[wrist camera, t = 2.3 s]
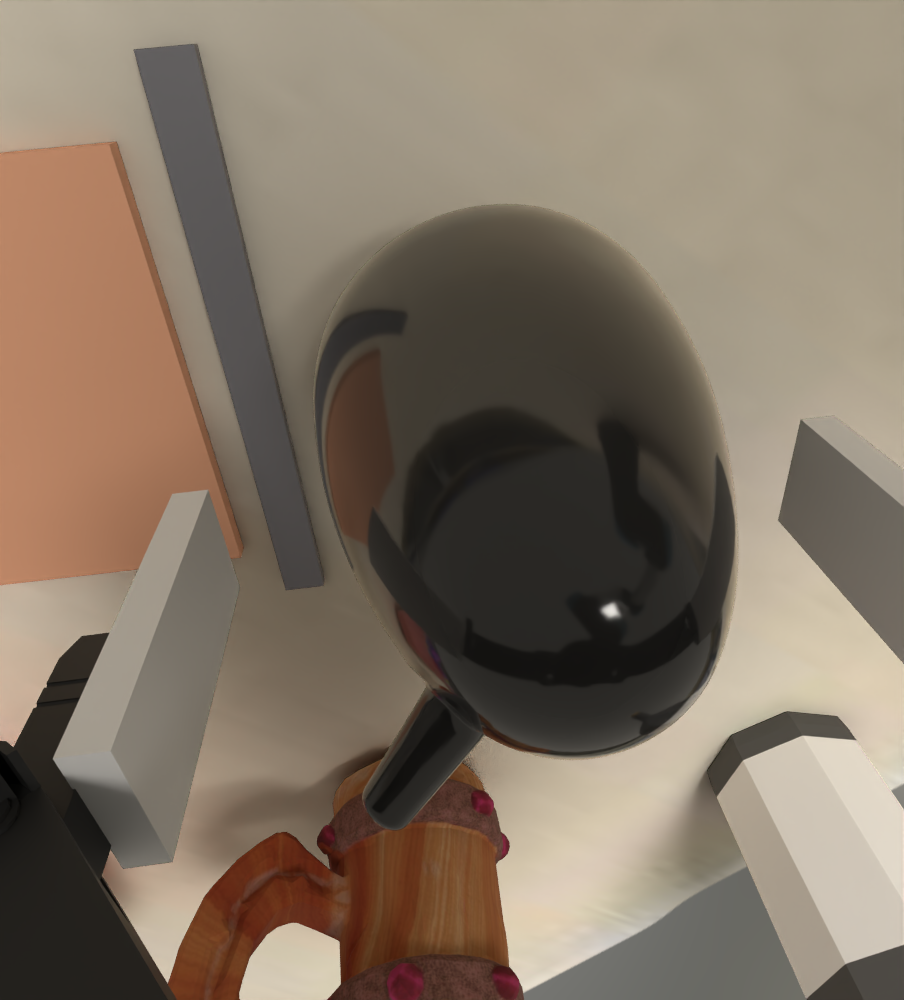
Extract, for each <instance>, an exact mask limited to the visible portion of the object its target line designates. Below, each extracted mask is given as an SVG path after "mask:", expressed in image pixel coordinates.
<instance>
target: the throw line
mask: <svg viewBox="0 0 904 1000" xmlns="http://www.w3.org/2000/svg"><path fill="white" fill-rule="evenodd" d="M134 53H135V56H136V60H137V63H138V67H139V71H140V74H141V78H142V81H143V85H144V88H145V92H146V95H147V99H148V102H149V106H150V110H151V113H152V117H153V120H154V124H155V127H156V131H157V134H158V138H159V141H160V145H161V149H162V152H163V156H164V159H165V163H166V166H167V170H168V173H169V177H170V180H171V184H172V188H173V191H174V195H175V198H176V202H177V205H178V209H179V212H180V216H181V220H182V223H183V227H184V230H185V234H186V237H187V241H188V244H189V248H190V251H191V255H192V259H193V262H194V266H195V269H196V273H197V276H198V280H199V283H200V287H201V290H202V294H203V298H204V301H205V305H206V308H207V312H208V315H209V319H210V322H211V326H212V329H213V333H214V337H215V340H216V344H217V347H218V351H219V354H220V358H221V361H222V365H223V369H224V372H225V376H226V379H227V383H228V386H229V390H230V393H231V397H232V400H233V404H234V408H235V411H236V415H237V418H238V422H239V425H240V429H241V432H242V436H243V439H244V443H245V447H246V450H247V454H248V457H249V461H250V464H251V468H252V471H253V475H254V478H255V482H256V486H257V489H258V493H259V496H260V500H261V503H262V507H263V510H264V514H265V518H266V521H267V525H268V528H269V532H270V535H271V539H272V542H273V546H274V549H275V553H276V557H277V560H278V564H279V567H280V571H281V574H282V578H283V581H284V585H285V588H286V590H292V589H300V588H309V587H318V586H324V576H323V571H322V567H321V563H320V559H319V555H318V550H317V546H316V542H315V538H314V533H313V529H312V525H311V521H310V517H309V512H308V508H307V504H306V500H305V496H304V491H303V487H302V483H301V479H300V475H299V470H298V466H297V462H296V458H295V454H294V449H293V445H292V441H291V437H290V433H289V428H288V424H287V420H286V416H285V411H284V407H283V403H282V399H281V395H280V390H279V386H278V382H277V378H276V374H275V369H274V365H273V361H272V357H271V353H270V348H269V344H268V340H267V336H266V332H265V327H264V323H263V319H262V315H261V311H260V306H259V302H258V298H257V294H256V289H255V285H254V281H253V277H252V273H251V268H250V264H249V260H248V256H247V252H246V247H245V243H244V239H243V235H242V231H241V226H240V222H239V218H238V214H237V210H236V205H235V201H234V197H233V193H232V188H231V184H230V180H229V176H228V172H227V167H226V163H225V159H224V155H223V151H222V146H221V142H220V138H219V134H218V130H217V125H216V121H215V117H214V113H213V109H212V104H211V100H210V96H209V92H208V88H207V83H206V79H205V75H204V71H203V66H202V62H201V58H200V54H199V50H198V45H197V44H188V45H177V46H167V47H156V48H145V49H134Z"/></svg>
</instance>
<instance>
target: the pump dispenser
mask: <svg viewBox="0 0 904 1000" xmlns="http://www.w3.org/2000/svg"><path fill="white" fill-rule="evenodd" d="M313 415H314V427H315V436H316V443H317V451H318V458H319V464H320V470H321V475H322V480H323V485H324V489H325V493H326V497H327V501H328V505H329V508H330V512H331V515H332V518H333V521H334V525H335V528H336V530H337V533H338V536H339V539H340V541H341V544H342V547H343V549H344V552H345V554H346V557H347V559H348V561H349V564H350V566H351V568H352V570H353V573H354V575H355V577H356V579H357V581H358V583H359V585H360V587H361V589H362V591H363V593H364V595H365V597H366V599H367V601H368V602H369V604H370V606H371V608H372V610H373V611H374V613H375V615H376V617H377V618H378V620H379V621H380V623H381V625H382V626H383V628H384V629H385V631H386V632H387V634H388V635H389V637H390V638H391V640H392V641H393V643H394V644H395V646H396V647H397V649H398V650H399V652H400V653H401V655H402V656H403V658H404V659H405V661H406V662H407V664H408V665H409V666H410V667H411V668H412V669H413V670H414V671H415V672H416V673H417V674H418V675H419V676H420V677H421V678H422V679H423V680H424V682H425V683H426V688H425V690H424V692H423V693H422V695H421V697H420V699H419V700H418V702H417V704H416V705H415V707H414V708H413V710H412V712H411V713H410V715H409V717H408V718H407V720H406V722H405V723H404V725H403V726H402V728H401V730H400V731H399V733H398V735H397V736H396V738H395V739H394V741H393V743H392V744H391V746H390V747H389V749H388V751H387V752H386V754H385V756H384V757H383V759H382V760H381V762H380V764H379V765H378V767H377V769H376V770H375V772H374V773H373V775H372V777H371V778H370V780H369V782H368V783H367V785H366V786H365V788H364V791H363V795H362V800H363V805H364V808H365V810H366V812H367V814H368V815H369V816H370V818H371V819H372V820H373V821H374V822H375V823H376V824H378V825H379V826H381V827H383V828H385V829H388V830H392V831H398V830H402V829H404V828H405V827H406V826H407V825H408V824H409V823H410V822H411V821H412V820H413V819H414V817H415V816H416V815H417V814H418V813H419V812H420V810H421V809H422V808H423V807H424V806H425V805H426V804H427V802H428V801H429V800H430V799H431V798H432V797H433V795H434V794H435V793H436V792H437V791H438V790H439V788H440V787H441V786H442V785H443V784H444V783H445V782H446V780H447V779H448V778H449V777H450V776H451V775H452V773H453V772H454V771H455V770H456V769H457V768H458V766H459V765H460V764H461V763H462V762H463V761H464V760H465V758H466V757H467V756H468V755H469V754H470V753H471V751H472V750H473V749H474V748H475V747H476V746H477V745H478V743H479V742H480V741H481V740H482V739H483V738H484V737H485V736H487V737H489V738H491V739H493V740H495V741H497V742H499V743H501V744H503V745H505V746H507V747H510V748H512V749H515V750H518V751H521V752H524V753H527V754H531V755H536V756H540V757H545V758H551V759H559V760H585V759H594V758H600V757H605V756H609V755H613V754H616V753H620V752H623V751H626V750H628V749H631V748H633V747H636V746H638V745H640V744H642V743H644V742H646V741H648V740H650V739H652V738H653V737H655V736H657V735H658V734H660V733H661V732H663V731H664V730H666V729H667V728H668V727H670V726H671V725H672V724H673V723H675V722H676V721H677V720H678V719H679V718H680V717H681V716H682V715H684V713H685V712H686V711H687V710H688V709H689V708H690V707H691V706H692V705H693V704H694V702H695V701H696V700H697V699H698V697H699V696H700V695H701V693H702V692H703V690H704V689H705V687H706V686H707V684H708V682H709V681H710V679H711V677H712V675H713V673H714V671H715V669H716V667H717V664H718V662H719V659H720V657H721V654H722V651H723V648H724V645H725V642H726V638H727V634H728V631H729V626H730V622H731V617H732V612H733V607H734V601H735V594H736V585H737V573H738V532H737V513H736V502H735V493H734V484H733V477H732V471H731V464H730V458H729V452H728V447H727V442H726V438H725V433H724V428H723V424H722V420H721V416H720V413H719V409H718V406H717V402H716V399H715V396H714V393H713V390H712V387H711V384H710V381H709V379H708V376H707V373H706V371H705V368H704V366H703V364H702V361H701V359H700V357H699V355H698V352H697V350H696V348H695V346H694V344H693V342H692V340H691V338H690V336H689V335H688V333H687V331H686V329H685V327H684V325H683V324H682V322H681V320H680V319H679V317H678V315H677V314H676V312H675V310H674V309H673V307H672V305H671V304H670V302H669V300H668V299H667V297H666V296H665V294H664V293H663V291H662V290H661V289H660V287H659V286H658V284H657V283H656V282H655V280H654V279H653V278H652V277H651V275H650V274H649V273H648V272H647V271H646V270H645V268H644V267H643V266H642V265H641V264H640V263H639V262H638V261H637V260H636V259H635V258H634V257H633V256H632V255H631V254H630V253H629V252H627V251H626V250H625V249H624V248H623V247H622V246H620V245H619V244H618V243H617V242H615V241H614V240H613V239H611V238H610V237H609V236H607V235H606V234H604V233H603V232H601V231H600V230H598V229H596V228H595V227H593V226H591V225H589V224H587V223H585V222H583V221H581V220H579V219H576V218H574V217H572V216H569V215H566V214H564V213H560V212H557V211H554V210H550V209H546V208H541V207H536V206H529V205H518V204H493V205H482V206H475V207H469V208H464V209H460V210H456V211H452V212H449V213H446V214H443V215H440V216H437V217H435V218H432V219H430V220H427V221H425V222H423V223H421V224H419V225H417V226H415V227H413V228H411V229H409V230H408V231H406V232H404V233H403V234H401V235H399V236H398V237H396V238H395V239H394V240H392V241H391V242H389V243H388V244H387V245H385V246H384V247H383V248H382V249H380V250H379V251H378V252H377V253H376V254H375V255H374V256H373V257H371V258H370V259H369V260H368V261H367V262H366V263H365V264H364V266H363V267H362V268H361V269H360V270H359V271H358V272H357V273H356V275H355V276H354V277H353V278H352V280H351V281H350V282H349V284H348V285H347V287H346V288H345V289H344V291H343V293H342V294H341V296H340V297H339V299H338V301H337V303H336V305H335V306H334V308H333V310H332V313H331V315H330V317H329V319H328V322H327V324H326V327H325V330H324V333H323V336H322V339H321V343H320V347H319V351H318V356H317V361H316V367H315V374H314V385H313Z"/></svg>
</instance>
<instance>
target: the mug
mask: <svg viewBox="0 0 904 1000" xmlns="http://www.w3.org/2000/svg"><path fill="white" fill-rule="evenodd" d="M381 760H382V759H381ZM381 760H379V761H377V762H374V763H372V764H370V765H368V766H366V767H364V768H362V769H360V770H358V771H357V772H355V773H354V774H352V775H351V776H349V777H347V778H346V779H345V780H344V781H343V782H342V784H341V785H340V787H339V788H338V789H337V791H336V793H335V797H334V801H333V809H334V818H333V819H332V821H331V822H330V824H329V825H326V826H324V827H323V829H322V830H321V832H320V834H319V836H318V838H317V845H318V847H319V848H320V850H321V851H322V852H323V853H324V854H327V855H328V859H329V866H330V869H328V868H327V867H326V866H325V865H324V864H323V863H321V862H320V861H319V860H318V859H317V858H316V857H314V856H313V855H312V854H311V853H310V852H308V851H307V850H306V849H305V848H304V846H303V845H302V844H301V843H300V842H299V841H298V839H297V838H296V837H294V836H292V835H291V834H289V833H287V832H281V833H276V834H274V835H272V836H270V837H269V838H267V839H265V840H263V841H262V842H260V843H259V844H258V845H256V846H255V847H254V848H252V849H251V850H250V851H248V852H247V853H246V854H244V855H243V856H242V857H240V858H239V859H238V860H237V861H236V862H235V863H234V864H233V865H232V866H231V867H230V868H229V870H228V871H227V872H226V873H225V874H224V875H223V876H222V877H221V878H220V879H219V880H218V881H217V882H216V883H215V884H214V885H213V887H212V888H211V889H210V890H209V892H208V893H207V894H206V895H205V897H204V898H203V900H202V902H201V904H200V906H199V908H198V910H197V912H196V914H195V916H194V918H193V920H192V922H191V924H190V926H189V928H188V930H187V932H186V934H185V936H184V938H183V941H182V943H181V945H180V947H179V950H178V953H177V957H176V960H175V964H174V967H173V970H172V973H171V976H170V979H169V982H168V985H169V987H170V989H171V990H172V992H173V994H174V995H175V997H176V999H177V1000H240V999H239V991H240V988H241V984H242V980H243V977H244V974H245V971H246V967H247V964H248V961H249V958H250V956H251V955H252V954H253V952H254V951H255V950H256V948H257V947H258V946H259V944H260V943H261V942H262V940H263V939H264V938H265V936H266V935H267V934H268V933H270V932H271V931H273V930H274V929H275V928H277V927H279V926H282V925H285V924H288V923H299V924H302V925H304V926H307V927H309V928H312V929H314V930H317V931H319V932H321V933H323V934H326V935H328V936H330V937H332V938H334V939H336V940H338V941H340V968H341V985H340V986H339V987H338V988H337V989H336V991H335V992H334V993H333V994H332V995H331V996H330V997H329V998H328V999H327V1000H524V997H523V990H522V986H521V984H520V982H519V979H518V978H517V976H516V974H515V973H514V972H513V971H512V969H511V968H510V967H509V959H508V947H507V939H506V932H505V927H504V922H503V915H502V908H501V900H500V892H499V885H498V877H497V870H496V864H497V862H498V861H499V860H501V859H503V858H504V857H505V856H506V855H507V854H508V851H509V847H510V845H509V841H508V839H507V837H506V836H505V835H504V834H503V833H502V832H501V830H500V826H499V821H498V817H497V813H496V810H495V808H494V802H493V800H492V799H491V797H490V796H489V795H488V794H487V793H486V792H485V791H484V788H483V785H482V783H481V781H480V780H479V779H478V777H477V776H476V775H475V774H474V772H473V771H471V770H470V769H469V768H468V767H467V766H466V765H464V764H463V763H461V764H460V765H459V766H458V768H457V769H456V770H455V771H454V772H453V773H452V775H451V776H450V777H449V778H448V779H447V780H446V782H445V783H444V784H443V785H442V786H441V787H440V788H439V790H438V791H437V792H436V793H435V794H434V795H433V797H432V798H431V799H430V800H429V801H428V802H427V804H426V805H425V806H424V807H423V808H422V809H421V810H420V812H419V813H418V814H417V815H416V816H415V817H414V819H413V820H412V821H411V822H410V823H409V824H408V825H407V826H406V827H405V828H404V829H402V830H398V831H392V830H388V829H385V828H383V827H381V826H379V825H378V824H376V823H375V822H374V821H373V820H372V819H371V818H370V816H369V815H368V814H367V812H366V810H365V808H364V805H363V800H362V795H363V791H364V788H365V786H366V785H367V783H368V782H369V780H370V778H371V777H372V775H373V773H374V772H375V770H376V769H377V767H378V765H379V764H380V762H381Z"/></svg>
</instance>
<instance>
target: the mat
mask: <svg viewBox="0 0 904 1000" xmlns="http://www.w3.org/2000/svg"><path fill="white" fill-rule="evenodd" d="M200 490H208V491H209V494H210V497H211V500H212V503H213V506H214V509H215V512H216V515H217V518H218V521H219V524H220V527H221V530H222V534H223V537H224V540H225V543H226V546H227V549H228V552H229V555H230V558H231V559H233V558H241V556H242V552H243V549H244V547H243V544H242V541H241V538H240V535H239V531H238V528H237V525H236V522H235V519H234V515H233V512H232V509H231V506H230V503H229V499H228V496H227V493H226V490H225V487H224V483H223V480H222V477H221V474H220V471H219V467H218V464H217V461H216V458H215V455H214V452H213V448H212V445H211V442H210V439H209V436H208V432H207V429H206V426H205V423H204V420H203V416H202V413H201V410H200V407H199V404H198V400H197V397H196V394H195V391H194V388H193V384H192V381H191V378H190V375H189V372H188V369H187V365H186V362H185V359H184V356H183V353H182V349H181V346H180V343H179V340H178V337H177V333H176V330H175V327H174V324H173V321H172V317H171V314H170V311H169V308H168V305H167V301H166V298H165V295H164V292H163V289H162V286H161V282H160V279H159V276H158V273H157V270H156V266H155V263H154V260H153V257H152V254H151V250H150V247H149V244H148V241H147V238H146V234H145V231H144V228H143V225H142V222H141V218H140V215H139V212H138V209H137V206H136V202H135V199H134V196H133V193H132V190H131V187H130V183H129V180H128V177H127V174H126V171H125V167H124V164H123V161H122V158H121V155H120V151H119V148H118V145H117V142H108V143H97V144H87V145H77V146H66V147H56V148H46V149H35V150H25V151H15V152H4V153H0V585H5V584H14V583H23V582H32V581H40V580H49V579H58V578H67V577H75V576H84V575H93V574H102V573H111V572H119V571H128V570H137V569H139V566H140V564H141V562H142V560H143V558H144V555H145V553H146V551H147V549H148V547H149V544H150V542H151V540H152V538H153V535H154V533H155V531H156V529H157V527H158V524H159V522H160V520H161V518H162V516H163V513H164V511H165V509H166V507H167V504H168V502H169V500H170V498H171V496H172V494H175V493H183V492H192V491H200Z"/></svg>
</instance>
